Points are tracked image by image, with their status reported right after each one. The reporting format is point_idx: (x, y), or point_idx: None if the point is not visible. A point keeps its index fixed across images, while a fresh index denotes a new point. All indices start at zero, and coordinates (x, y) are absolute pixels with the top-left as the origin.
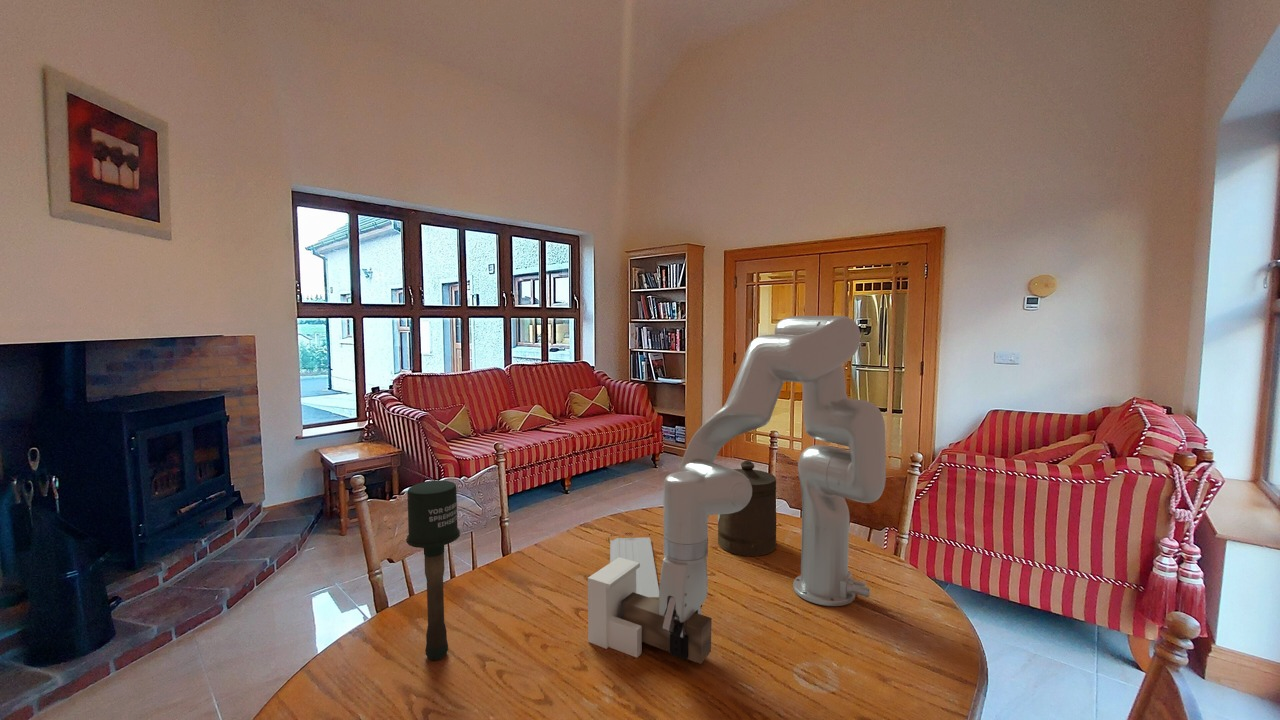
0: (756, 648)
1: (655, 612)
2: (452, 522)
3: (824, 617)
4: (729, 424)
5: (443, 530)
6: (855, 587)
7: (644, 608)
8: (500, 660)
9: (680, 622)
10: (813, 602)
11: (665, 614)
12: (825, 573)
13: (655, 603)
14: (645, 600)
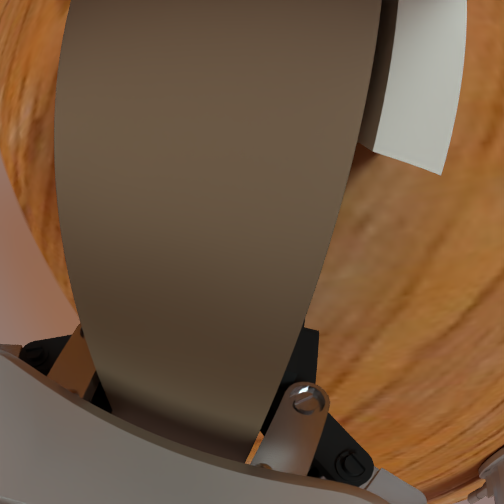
0: (352, 427)
1: (73, 253)
2: None
3: (456, 466)
4: None
5: None
6: (482, 495)
7: (71, 109)
8: None
9: (112, 403)
10: (497, 452)
11: (105, 337)
12: (501, 500)
13: (235, 191)
14: (247, 12)
